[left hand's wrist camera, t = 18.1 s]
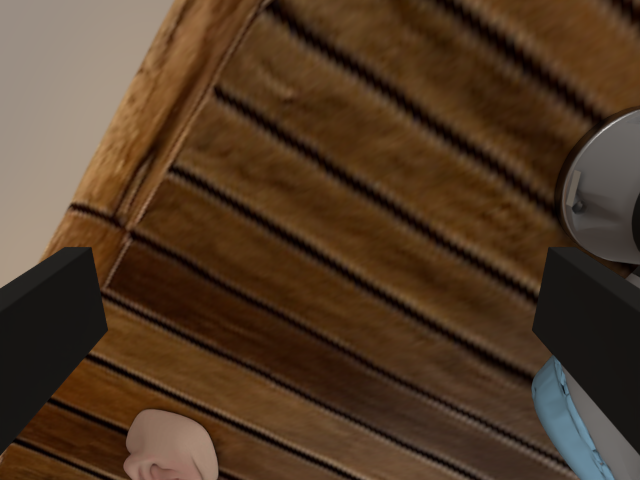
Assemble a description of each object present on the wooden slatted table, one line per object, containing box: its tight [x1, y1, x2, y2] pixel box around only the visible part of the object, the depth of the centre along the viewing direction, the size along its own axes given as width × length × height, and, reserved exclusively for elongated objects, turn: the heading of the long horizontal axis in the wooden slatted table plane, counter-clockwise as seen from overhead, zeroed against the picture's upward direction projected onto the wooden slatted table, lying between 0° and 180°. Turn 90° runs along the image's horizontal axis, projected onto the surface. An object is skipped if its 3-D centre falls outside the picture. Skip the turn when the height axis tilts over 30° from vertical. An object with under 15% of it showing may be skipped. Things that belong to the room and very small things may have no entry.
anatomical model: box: [124, 409, 218, 480], centre depth 52 cm, size 13×4×12 cm
